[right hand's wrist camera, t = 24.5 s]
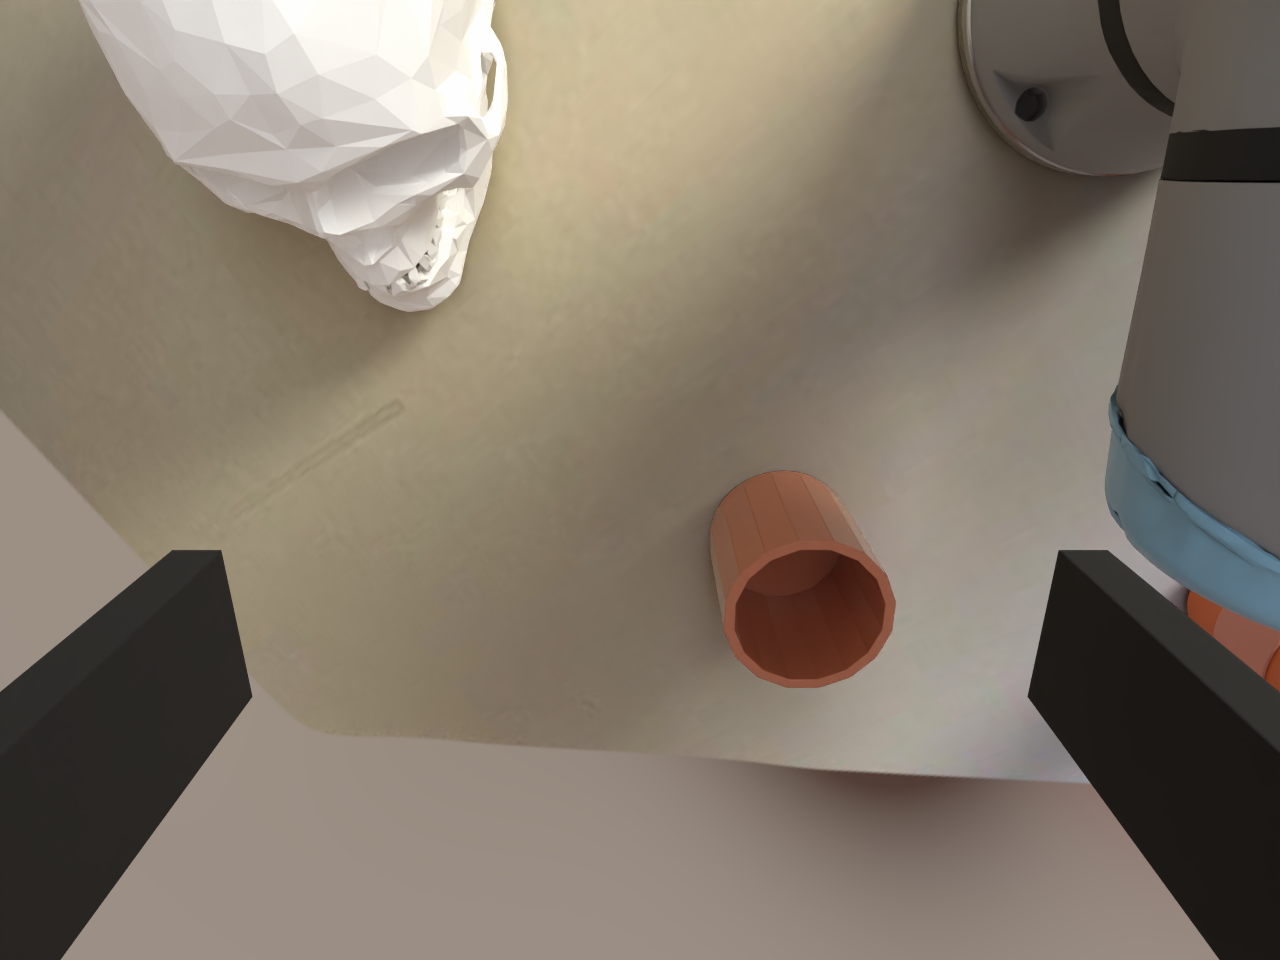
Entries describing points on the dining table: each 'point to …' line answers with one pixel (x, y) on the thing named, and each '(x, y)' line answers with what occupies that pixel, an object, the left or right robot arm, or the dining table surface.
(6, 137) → the dining table surface
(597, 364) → the dining table surface
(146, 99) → the skull
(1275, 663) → the cup with straw
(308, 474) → the dining table surface
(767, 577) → the terracotta cup
